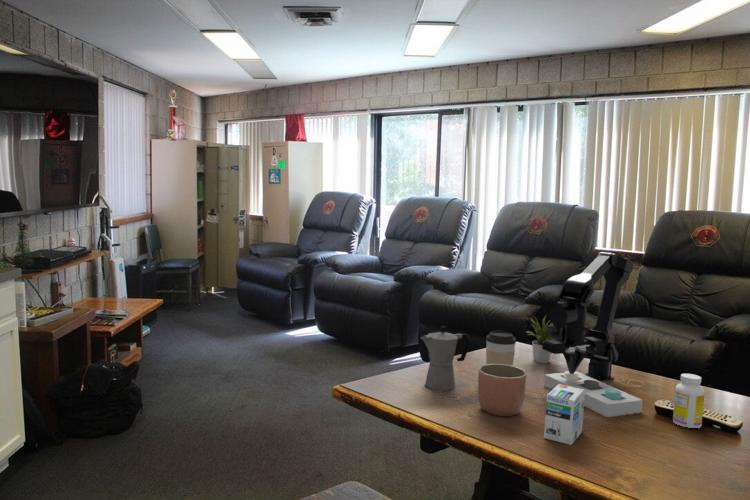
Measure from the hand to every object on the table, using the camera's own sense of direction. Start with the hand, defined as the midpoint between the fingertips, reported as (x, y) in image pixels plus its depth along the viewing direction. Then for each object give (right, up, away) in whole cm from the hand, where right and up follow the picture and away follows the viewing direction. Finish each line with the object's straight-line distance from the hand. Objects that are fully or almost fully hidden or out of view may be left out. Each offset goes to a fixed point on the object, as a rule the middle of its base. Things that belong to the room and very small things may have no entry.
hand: (571, 373), depth 180 cm
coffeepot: (-38, -4, -2) cm, 39 cm away
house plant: (-2, -2, +29) cm, 29 cm away
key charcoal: (+3, -5, -7) cm, 9 cm away
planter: (-25, -6, -20) cm, 33 cm away
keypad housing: (+3, -6, -7) cm, 10 cm away
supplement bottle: (+22, -8, -24) cm, 34 cm away
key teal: (+6, -6, -15) cm, 17 cm away
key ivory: (0, -4, 0) cm, 4 cm away
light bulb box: (-13, -8, -34) cm, 38 cm away
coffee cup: (-21, -4, +6) cm, 22 cm away
